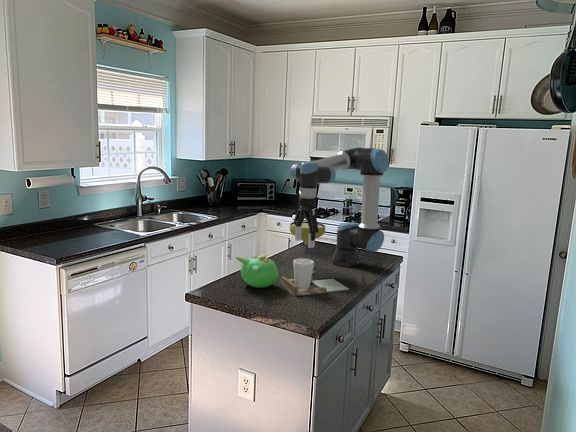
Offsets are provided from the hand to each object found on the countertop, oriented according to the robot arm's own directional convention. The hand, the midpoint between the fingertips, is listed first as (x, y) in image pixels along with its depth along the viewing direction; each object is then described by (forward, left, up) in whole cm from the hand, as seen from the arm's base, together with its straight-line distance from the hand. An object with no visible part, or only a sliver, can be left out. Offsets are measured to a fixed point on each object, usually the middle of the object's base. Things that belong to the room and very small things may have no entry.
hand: (304, 243), depth 200 cm
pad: (-15, 0, -21) cm, 26 cm away
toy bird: (+18, -9, -21) cm, 29 cm away
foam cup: (0, 0, -21) cm, 21 cm away
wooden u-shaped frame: (-1, 0, -21) cm, 21 cm away
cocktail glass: (-13, -23, -21) cm, 34 cm away
